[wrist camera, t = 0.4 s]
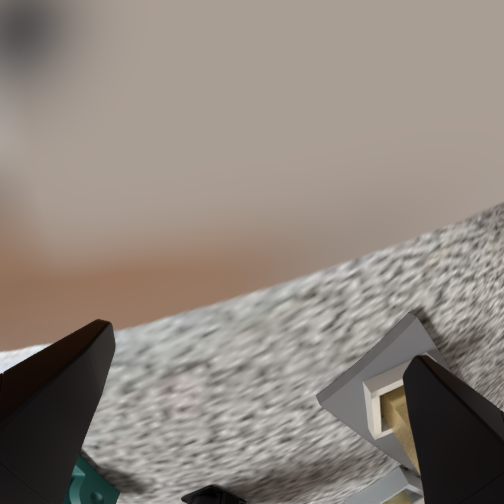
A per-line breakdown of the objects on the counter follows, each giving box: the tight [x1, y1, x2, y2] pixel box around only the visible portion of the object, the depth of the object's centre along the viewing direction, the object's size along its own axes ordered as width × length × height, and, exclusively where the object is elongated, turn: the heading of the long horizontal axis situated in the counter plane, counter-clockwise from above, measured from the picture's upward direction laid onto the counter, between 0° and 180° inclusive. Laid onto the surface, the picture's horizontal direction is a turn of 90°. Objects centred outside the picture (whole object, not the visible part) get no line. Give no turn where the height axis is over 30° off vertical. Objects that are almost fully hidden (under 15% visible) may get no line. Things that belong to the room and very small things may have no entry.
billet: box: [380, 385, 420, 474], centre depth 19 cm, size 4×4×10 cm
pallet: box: [316, 312, 453, 474], centre depth 25 cm, size 12×26×4 cm, turn 44°
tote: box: [344, 466, 424, 504], centre depth 28 cm, size 10×10×4 cm
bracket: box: [63, 454, 120, 504], centre depth 23 cm, size 18×7×8 cm, turn 24°
